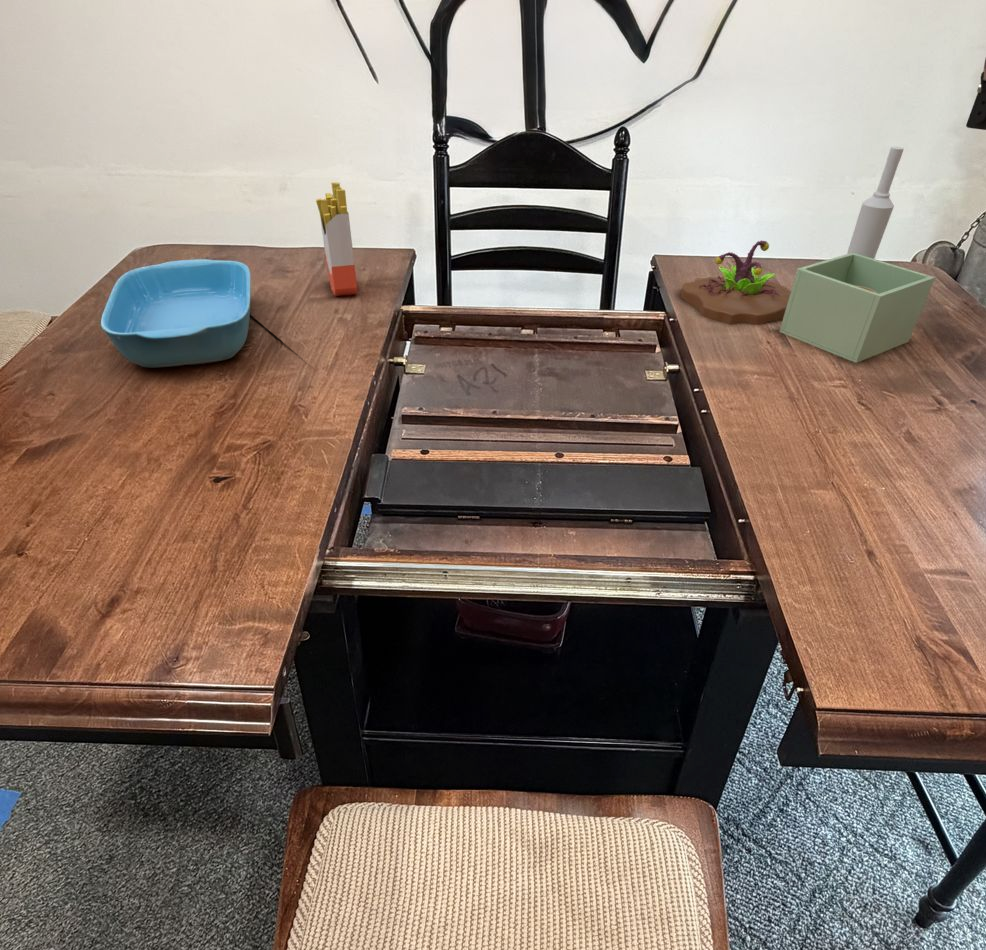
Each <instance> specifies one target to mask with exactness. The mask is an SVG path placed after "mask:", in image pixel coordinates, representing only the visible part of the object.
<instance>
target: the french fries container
mask: <svg viewBox="0 0 986 950" xmlns="http://www.w3.org/2000/svg"><path fill="white" fill-rule="evenodd" d="M330 184H331V191H332V194H331V192H328V193H327V192H326V193H325V198H316V199H315V202H316V205H317V209H318V211H319V219H320V226H321V233H322V241H323V248H324V249H323V250H324V254H325V262H326V270H327V276H328V279H329V285H330V289H331V291H332V292H333V295H334V297H341V296H352V295H353V296H354V295H358V282H357V275H356V273H357V272H356V265H355V256H354V250H353V239H352V231H351V223H350V215H349V212H348V206H347V205H348V204H347V196H346V190H345V189H344V188H342V187H341V184H340V182H337V181H336V182H331V183H330Z"/></svg>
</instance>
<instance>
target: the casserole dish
mask: <svg viewBox="0 0 986 950" xmlns="http://www.w3.org/2000/svg"><path fill="white" fill-rule="evenodd" d="M251 279H252V277H251V270H250V268H249V266H248V265H247V264H246V263H243V262H240V261H236V260H220V259H219V260H218V259H217V260H215V259H205V258H199V259H197V258H195V259H194V258H193V259H183V260H181V259H180V260H173V261H172V260H171V261H166V262H163V263H158V264H153V265H147V266H141V267H138V268H134V269H131V270H129V271H126V272H124V273H123V274H122V275H121V276H120V277H119V278H118V279H117V280H116V282H115V284H114V285H113V288H112V290H111V292H110V294H109V297H108V299H107V302H106V304H105V306H104V308H103V309H104V310H103V312H102V315H101V318H100V325H101V329H102V330H103V331H104V332H105V334H106V335H107V336H108V338H109V339H110V340H111V342H112V343H113V345H114V346H115V348H116V349H117V350H118V352H119V353H120V354H121V355H122V356H123V357H124V358H125V359H127V360H128V361H129V362H131V363H132V364H135V365H138V366H140V367H142V368H150V369H151V368H154V369H155V368H169V367H181V366H185V365H189V366H190V365H200V364H210V363H217V362H222V361H227V360H229V359H232V358H234V357H235V355H237V353H239V351H240V350H241V349H242V348H243V347H244V345H245V343H246V341H247V338H248V333H249V327H250V317H251V315H250V314H251V289H252V288H251V286H252V284H251V283H252V280H251Z"/></svg>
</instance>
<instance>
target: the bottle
mask: <svg viewBox="0 0 986 950" xmlns="http://www.w3.org/2000/svg"><path fill="white" fill-rule="evenodd" d="M904 150H905V147H900V146H891V147H890V148H889V152H888V155H887V158H886V162H885V165H884V167H883V171H882V174H881V176H880V180H879V183H878V186H877V189H876V190H875V191H874V192H873V194H872V195H871V196H869V197H868V198H867V199H866V200H864V201H863V202H862V203H861V207H860V210H859V213H858V216H857V220H856V223H855V225H854V230H853V233H852V236H851V240H850V242H849V245H848V250H847V253H846V254H849V253H856V254H859V255H863V256H866V257H869V258H873V259H876V255H877V253H878V250H879V247H880V245H881V242H882V239H883V236H884V234H885V232H886V229H887V226H888V223H889V221H890V218H891V215H892V213H893V211H894V208H895V205H894V203H893V201H892V200H891V198H890V196H891V194H890V189H891V187H892V184H893V181H894V178H895V176H896V172H897V170H898V167H899V165H900V162H901V159H902V156H903V152H904Z"/></svg>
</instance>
